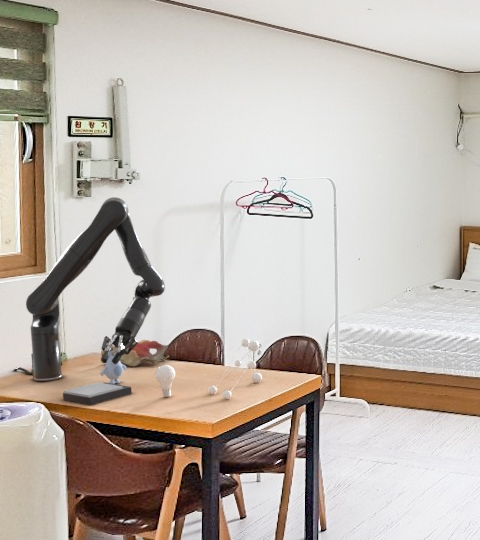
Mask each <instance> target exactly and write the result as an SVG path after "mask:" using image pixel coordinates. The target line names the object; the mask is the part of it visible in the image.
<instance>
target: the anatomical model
mask: <svg viewBox="0 0 480 540" xmlns="http://www.w3.org/2000/svg"><path fill="white" fill-rule="evenodd" d="M168 348H169V344H161V343H159V342H158V341H156V340H149V339H141V340H140V341H138V344H137V345H136V346H135V347H134V348H133V349H132V351H131V352H130V353H129V354H128V355H126V354H124V355H123V356H122V357H121V359H120V362H121V364H124V365H128V366H130V367H137V366H139V365H140V364H142V363H143V362H150V363H153V364H157V363H158V362H159V361H160V362H164V361H165V360H166V359H169V357H170V355H169V354H168V355H166V356H164V354H165V352H166V351H167V349H168ZM128 349H129V348H128ZM128 349H127V350H128ZM153 349H154V350H156V352H155V353H152V352H150V351H151V350H153ZM116 350H117V353H118V348H117V349H116ZM100 353H101V357H102V356H103V354H104V351H103V350H102V349H101V351H100ZM111 354H112V356H114V351H113V352H112V353H111ZM101 363H102V364H104V363H103V362H102V361H101Z"/></svg>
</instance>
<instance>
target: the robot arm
mask: <svg viewBox="0 0 480 540" xmlns="http://www.w3.org/2000/svg"><path fill="white" fill-rule="evenodd" d="M114 231H115V234H116V236H117V237H118V240H119V242H120V245H121V248H122V251H123V253H124V256H125V259H126V261H127V263H128V266H129V267H130V270H131V272H132V273H133V275H135V276H137V277H141V279H142V280H140V281H138V283H137V285H136V286H135V289H134V293H133V297H132V301H131V302H130V304H129V305H128V307H127V309H126V310H125V311H124V313H123V314H122V316H121V318H120V319H119V321H118V323H117V325H116V326H115V331H114V333H113V334H112V335H111V336H108V335H105V336H104V337H103V341H102V345H101V351H102V350H103V351H104V354H103V356H101V358H100V361H101V363H102V362H103V363H102V364H106V362H107V360H108V358H109V356H108V352H109V351H111V353H112V352H113V351H114V350H116V349H117V348H118V353H117V352H116V354H115V356H114V358H113V359H112V362H113V363H114V364H117V363H118V362H119V361H120V359H121V357H122V356H123V355H124V354H126V355H128V354H129V353H130V352H131V351H132V349H133V348H134V347H135V346H136V345H137V344H138V342H139V341H138V340H137V339H136V338H137V335H138V333H139V331H140V330H141V328H142V326H143V324H144V323H145V320H146V317H147V315H148V314H149V312H150V310H151V307H152V303H151V301H150V298H153V297H158V296H161V295H163V293H164V292H165V291H166V285H165V281H164V280H163V278H162V276H161V275H160V274H159V272H157V270H156V269H155V268H154V267H153V265H152V264H151V262H150V259H149V257H148V255H147V253H146V251H145V249H144V247H143V245H142V243H141V241H140V239H139V237H138V235H137V232H136V230H135V228H134V225H133V222H132V219H131V215H130V212H129V207H128V204H127V203H126V201H125V200H123V199H122V198H120V197H115V196H113V197H109V198H107V199H106V200H104V201H103V203H102V205H101V206H100V208H99V210H98V212H97V213H96V215H95V217H94V218H93V219H92V221H91V222H90V224H89V225H88V227H86V229H85V230H83V231H82V232H81V233H80V234H79V235H78V236H77V237H76V238H75V239H74V240H73V241H72V242H71V243H70V245H69V246H68V247H67V248H66V249H65V250H64V252H63V253H62V254H61V256H60V257H59V259H58V260H57V262H56V263H55V264H54V265H53V266H52V269H50V271H49V273H48V275H47V276H46V277H45V278H44V279H43V280H42V282H40V284H38V285H37V287H36V288H35V289H34V290H33V291H31V292H30V294H29V295H28V296H27V298H26V301H25V307H26V310H27V312H28V313H29V314H30V315H32V322H31V325H30V338H31V339H30V340H31V351H32V352H31V371H28V369H26V368H23V367H20V366H19V368H18V369H15V368H14V369H13V372H17V371H22V372H25V374H27V375H29V376H32V378H33V381H36V382H49V381H55V380H60V379H62V378H63V369H62V368H63V367H62V366H63V361H62V354H61V340H60V322H61V316H60V315H61V314H60V313H61V312H60V299H59V297H60V296H61V294H62V293H63V292H64V290H66V288H67V287H68V286H69V285H70V284H71V283H73V282H74V281H75V280H76V279H77V278H78V277H79V276H80V275H81V274H83V272H84V271H85V270H86V269H87V268H88V266H89V265H90V264H91V263H92V262H93V260H94V259H95V257H96V256H97V254H98V252H99V251H100V250H101V248H102V247H103V245H104V243H105V242H106V240H107V238H108V237H109V236H110V235H111V234H112V233H113V232H114ZM128 348H129V349H128ZM127 349H128V350H127Z"/></svg>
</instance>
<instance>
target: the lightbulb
mask: <svg viewBox="0 0 480 540" xmlns="http://www.w3.org/2000/svg"><path fill="white" fill-rule="evenodd" d="M154 374H155V379H156V381H157V382H158V384H159V385H160V388H161V392H162V394H161V395H162V397H163V398H169V397H171V396H172V391H171V390H172V384H173V382H174V381H175V378H176V374H177V373H176V370H175V368H174V367H173V366H171V365H169V364H163V365H160V366H158V368H157V369H156V371H155V373H154Z"/></svg>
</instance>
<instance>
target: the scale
mask: <svg viewBox="0 0 480 540" xmlns="http://www.w3.org/2000/svg"><path fill="white" fill-rule="evenodd" d="M132 393H133V392H132V386H128V385H122V384H119V383H115V384H112V383H111V384H110V383H109V382H99V381H97V382H94V383H93V382H92V383H89V384H85V385H82V386H77V387H73V388H69V389H65V390H63V393H62V399H63V401H66V402H72V403H78V404H83V405H88V406H92V405H95V404H100V403H103V402H106V401H109V400H113V399H114V400H115V399H119V398H121V397H125V396H128V395H132Z"/></svg>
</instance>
